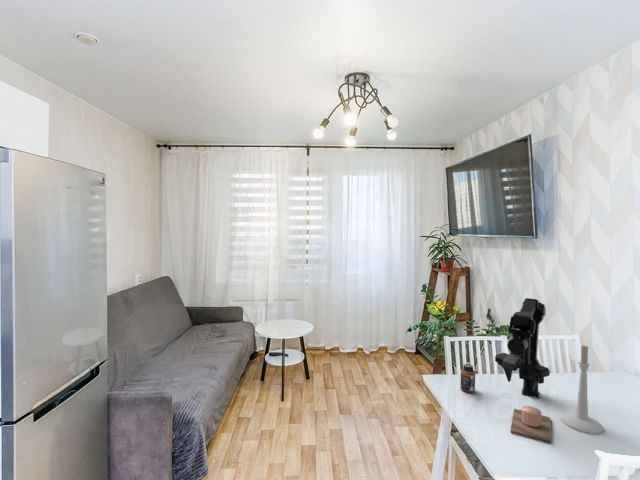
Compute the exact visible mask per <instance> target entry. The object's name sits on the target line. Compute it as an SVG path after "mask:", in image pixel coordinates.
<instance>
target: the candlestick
mask: <svg viewBox="0 0 640 480" xmlns="http://www.w3.org/2000/svg"><path fill="white" fill-rule="evenodd" d="M588 355H589V346H588V345H584V344H582V345H581V349H580V361H578V365H579V369H580V372H579V375H580V376H579V382H578V384H579V385H578V394H577V402H576V412H568V413H567V412H566V413H564V414H562V415H561V416H560V420H561V423H563V424H564V425H565V426H567V427H568V428H570V429H572V430H575V431H577V432H580V433H584V434H589V435H600V434H603V433H604V430H605V428H604V426H603V425H602V424H601V422H599V421H597V420H596V419H595V418H593V417H591V416H589V408H588V405H589V404H588V401H589V400H588V372H587V371H588V370H589V367H590V366H591V364H589V363H588V362H589V361H588V360H589V359H588V358H589V356H588Z"/></svg>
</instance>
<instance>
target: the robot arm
mask: <svg viewBox="0 0 640 480" xmlns="http://www.w3.org/2000/svg"><path fill="white" fill-rule="evenodd" d="M546 310H547V309H546V306H545V304H543V303H542V302H540V301H539V300H538V299H536V298H527V297H526V298H524V301H523V302H522V305H521V309H520V310H519V311H516V312H514V313H513V315H511V316H510V320H509V325H508V326H509V327H508V334H512V337H511V338H510V339H509V341H508V342H507V346H506V347H507V349H508V351H509V352H510V353H507V352H501V353H498V354H496V355H495V357H494V361H495V362H496V363H497V364H498V365H499V366H500V367H501V368H502V369H503V371H504V373H505V376H506V379H507V383H509V382H512V381H511V380H512V376H513V372H516V371H518V376H519V377H518V378H519V380H523V381H522V382H523V383H522V384H523V385H522V388H521V395H525V396H529V397H532V398H536V399H540V390H539V384H540V385H542V384H544V383H545V378H546V377H547V378H548V377H549V376H550V374H551V373H550V369H549V368H548V367H547V366H544V365H541V363H540V361H539V359H538V347H539V346H538V345H539V332H540V331H539V330H540V329H539V328H540V324H541V323H542V322H543V320H544V319H545V318H544V317H545V316H546V312H547V311H546Z"/></svg>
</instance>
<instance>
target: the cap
mask: <svg viewBox="0 0 640 480" xmlns="http://www.w3.org/2000/svg"><path fill="white" fill-rule="evenodd" d="M521 410H522V414H521V421H522V422H523V423H525V424H527V425H529V426H533V427H539V426H541V415H542V411H541V410H540V409H539V408H537V407H535V406H532V405H531V406H530V405H522V407H521Z"/></svg>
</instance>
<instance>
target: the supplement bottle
mask: <svg viewBox="0 0 640 480" xmlns="http://www.w3.org/2000/svg"><path fill="white" fill-rule="evenodd" d="M460 390H461V391H463V392H465V393H467V394H468V393H470V394H472V393H474V392H475V390H476V371H475V370H474V365H473V364H471V363H464V364H463V367H462V369H461V371H460Z"/></svg>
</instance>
